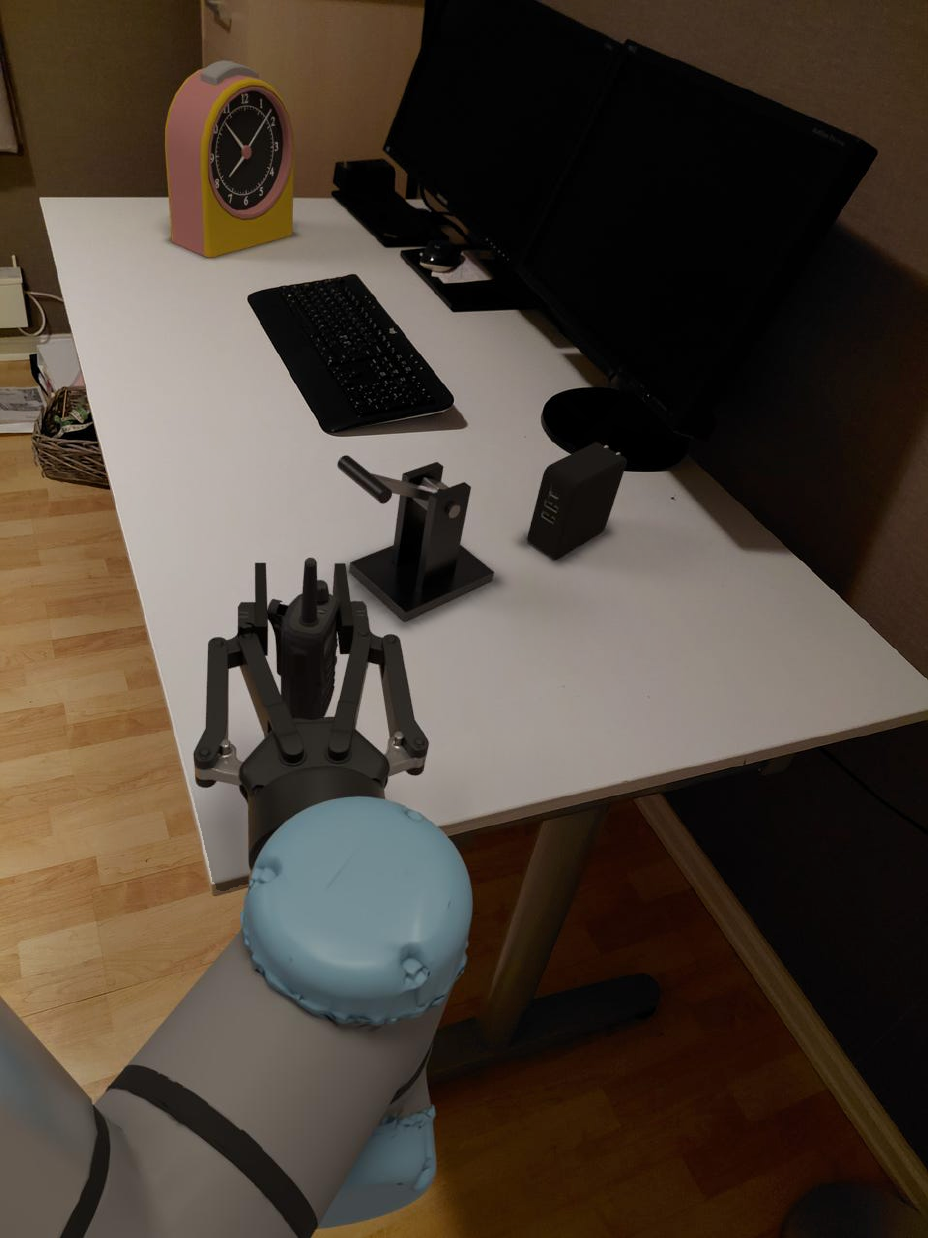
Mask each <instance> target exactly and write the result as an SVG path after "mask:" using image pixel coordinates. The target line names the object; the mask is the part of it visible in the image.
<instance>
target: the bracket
mask: <svg viewBox="0 0 928 1238" xmlns="http://www.w3.org/2000/svg"><path fill="white" fill-rule="evenodd" d="M443 472H444V465H443V464H441V463H440V462H438V461H435V462H432V463H429V464H426V465H423V466H420V467H418V468H414V469H411V470H409V471H406V472H403V473H402V474H401V475H402V476H401V481H404V482H408V483H412V484H416V485H420V484H421V482H422V480H423V478H424V477H425V478H429V479H433V480H437V481H440V482H442V478H443ZM448 487H449V488H446V489H444V490H441V491H438V492H436V493H433V494H430V496H429V503H428V509H427V510H426V509H425V508H423V507H422V506H421V505H420V504H418V503H417V502H416V501H415V500H413V498H411V497H407V496H403V495H399V499H398V505H397V506H398V508H397V515H396V522H395V529H394V530H395V531H394V539H393V544H392V545H390V546H387V547H385V548H382V549H380V550H377V551H375V552H373V553H370V554H367V555H364V556H363V557H360V558H357V559H355V560H352V561H350V562H349V567H348V572H349V573H350V574H351V575H352V576H354V577H355V578H356V579H357V580H358V581H359V582H360V583H361V584H362V585H364V587H365V588H367V590H369V591H370V592H371V593H372V594H373V595H374V596H375V597H377V599H378V600H380V601H381V602H382V603H383V604H384V605H385V606H386V607H387V608H389V610H390V611H392V613H394V614H395V615H396V616H397V617H398V618H399V619H401V620H402V622H407V621H409V620H411V619H414V618H415V617H417V616H419V615H422V614H424V613H426V612H428V611H430V610H432V609H434V608H437V607H438V606H441V605H443V604H446V603H447V602H449V601H451V600H453V599H455V598H457V597H460V596H462V595H464V594H466V593H468V592H471V591H472V590H475V589H477V588H479V587H481V586H483V585H485V584H488V583H490V582H491V581H493V578H494V573H495V571H493V569H491V568H490V567H489V566H487V565H486V564H485V563H484V562H482V560H480V559H479V558H478V557H476V556H475V554H473V553H471V552H470V551H469V550H468V549H466V548H465V547H464V546H463V545H461V542H462V539H463V533H464V527H465V523H466V522H465V520H466V516H467V512H468V506H469V501H470V496H471V492H472V491H471V490H472V485H470V484H468V483H467V482H466V481H463V482H460V483H458V484H455V485H452V486H448Z"/></svg>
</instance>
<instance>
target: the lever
mask: <svg viewBox="0 0 928 1238" xmlns="http://www.w3.org/2000/svg"><path fill="white" fill-rule="evenodd" d="M336 465H337V468H338V470H340V471H341V472H342V473H343V474H344V475H345V476H347V477H348V478H349V479H350V480H352V481H353V482H354V483H355V484H357V485H358V486H359V487H360V488H361V489H363V490H364V491H365V492H366V493H367V494H369V495H370V496H371V497H372V498H374V499H375V500H376V501H377V503H379V504H381V505H382V504H383V505H385V504H386V503H389V501H390V500H391V499H392V497H393V494H394V495H398V496H400V495H403V496H407V497H411V498H413V500H415V501H416V502H417V503H418V504H420V505H421V506H422V507H423V508H425V509H426V510H427V509H428V503H429V496H430V494H433V493H436V492H438V491H441V490H444V489H446V488H449V487H450V486H448V485H446V484H445V483H444V482H443V481H441V482H440V481H437V480H433V479H429V478H425V477H424V478H423V480H422V482H421V484H420V485H416V484H412V483H408V482H404V481H402V480H401V479H396V478H392V477H389V476H388V477H387V476H384V475H380V474H376V473H373V472H370V471H369V470H367V469H366V468H365V467H363V466H362V465H361V464H360V463H358V462H357V461H356V460H355V459H353V458H352V457H351V456H350V455H347V454H344V455H343V456H341V457H340V458H339V459H338V461H337V464H336Z"/></svg>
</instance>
